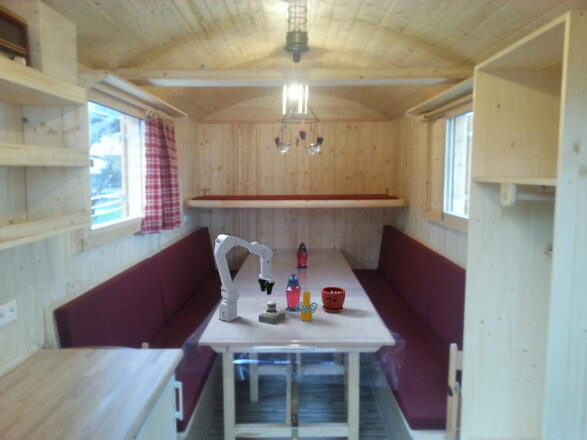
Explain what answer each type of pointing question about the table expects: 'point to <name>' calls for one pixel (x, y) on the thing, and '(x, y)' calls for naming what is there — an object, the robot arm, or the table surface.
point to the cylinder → (306, 306)
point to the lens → (271, 307)
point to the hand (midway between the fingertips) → (266, 293)
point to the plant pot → (333, 299)
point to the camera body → (271, 316)
